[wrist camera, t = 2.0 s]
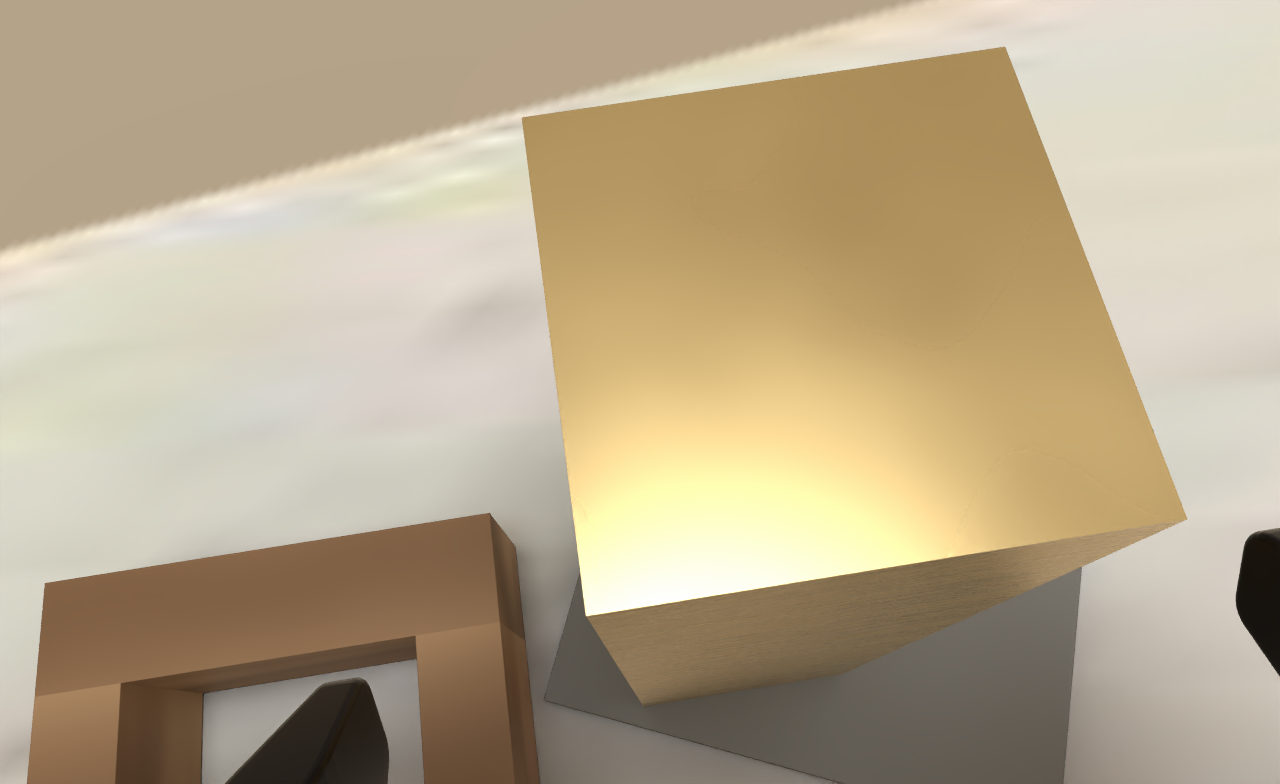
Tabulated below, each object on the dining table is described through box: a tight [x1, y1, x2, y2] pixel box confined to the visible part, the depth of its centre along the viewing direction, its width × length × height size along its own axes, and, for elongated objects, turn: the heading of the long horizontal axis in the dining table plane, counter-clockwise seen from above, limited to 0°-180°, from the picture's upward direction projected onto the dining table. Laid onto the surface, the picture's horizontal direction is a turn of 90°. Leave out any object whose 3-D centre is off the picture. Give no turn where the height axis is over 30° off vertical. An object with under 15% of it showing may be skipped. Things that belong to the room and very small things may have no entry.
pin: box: [522, 47, 1187, 707], centre depth 13 cm, size 4×4×13 cm
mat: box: [544, 567, 1082, 784], centre depth 19 cm, size 10×10×1 cm
